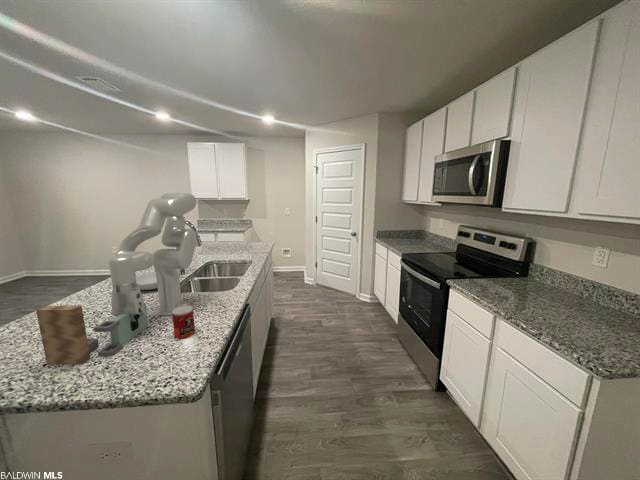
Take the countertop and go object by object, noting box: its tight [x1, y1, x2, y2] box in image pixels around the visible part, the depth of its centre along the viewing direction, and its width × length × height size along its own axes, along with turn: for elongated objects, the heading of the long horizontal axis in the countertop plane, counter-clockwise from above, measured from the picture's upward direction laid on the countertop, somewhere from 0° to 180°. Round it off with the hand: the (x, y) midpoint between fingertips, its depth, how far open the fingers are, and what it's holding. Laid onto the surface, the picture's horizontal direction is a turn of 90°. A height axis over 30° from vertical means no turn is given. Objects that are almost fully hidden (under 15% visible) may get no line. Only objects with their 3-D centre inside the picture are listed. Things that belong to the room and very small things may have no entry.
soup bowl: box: [135, 271, 158, 291], centre depth 155 cm, size 24×24×7 cm
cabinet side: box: [35, 305, 100, 366], centre depth 88 cm, size 12×10×20 cm
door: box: [93, 302, 149, 357], centre depth 99 cm, size 5×21×11 cm, turn 1°
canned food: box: [171, 305, 196, 340], centre depth 103 cm, size 8×8×11 cm
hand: (130, 328), depth 102 cm, fingers closed on door, 3 cm apart
